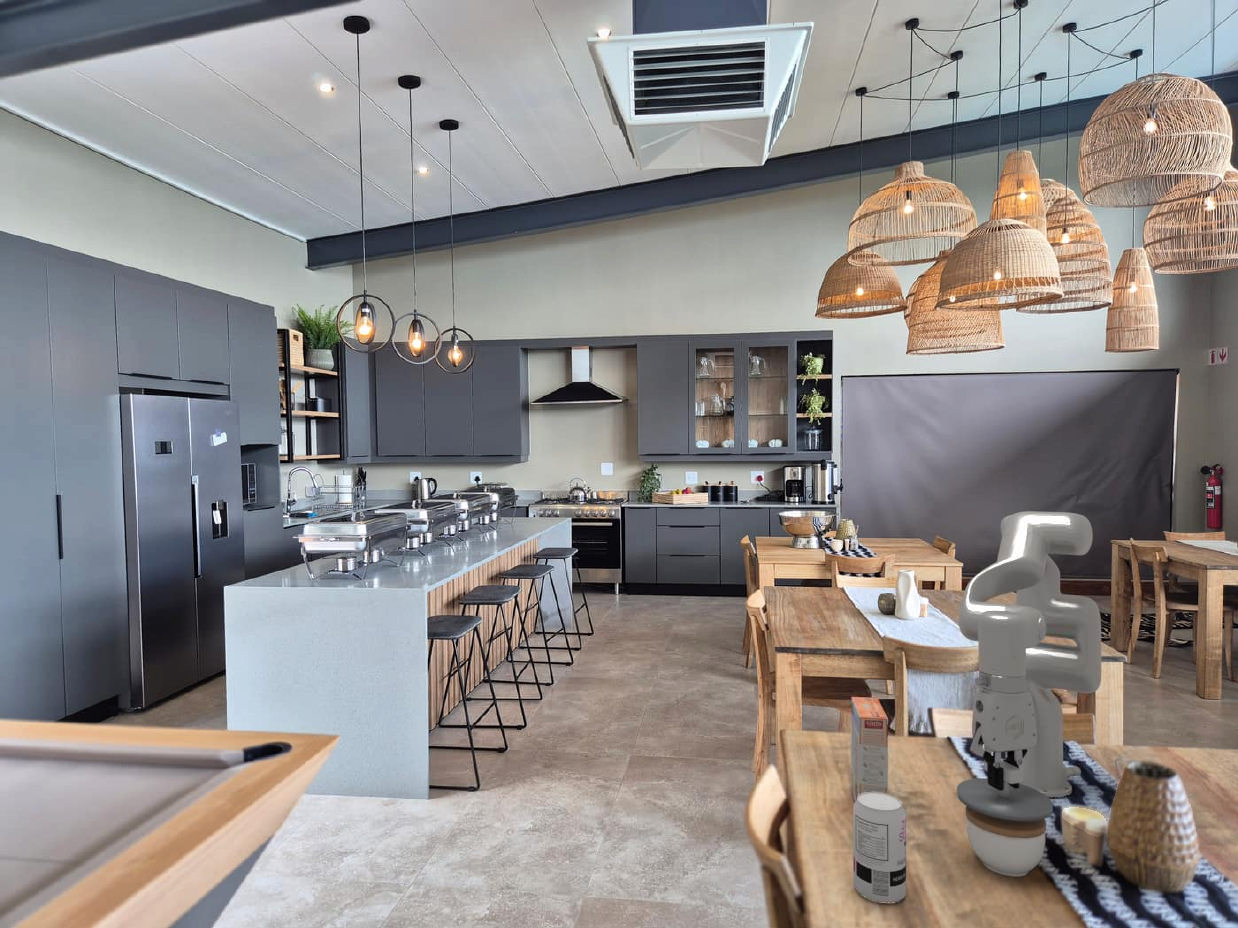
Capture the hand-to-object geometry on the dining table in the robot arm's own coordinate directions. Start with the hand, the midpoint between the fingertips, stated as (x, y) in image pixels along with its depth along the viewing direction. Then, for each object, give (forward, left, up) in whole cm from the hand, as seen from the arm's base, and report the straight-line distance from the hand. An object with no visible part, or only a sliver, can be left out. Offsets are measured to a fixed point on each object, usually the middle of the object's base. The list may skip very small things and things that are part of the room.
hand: (1003, 785), depth 132 cm
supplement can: (+26, +2, -14) cm, 30 cm away
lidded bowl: (0, 0, -14) cm, 14 cm away
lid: (0, 0, -3) cm, 3 cm away
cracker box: (+10, -26, -14) cm, 31 cm away
